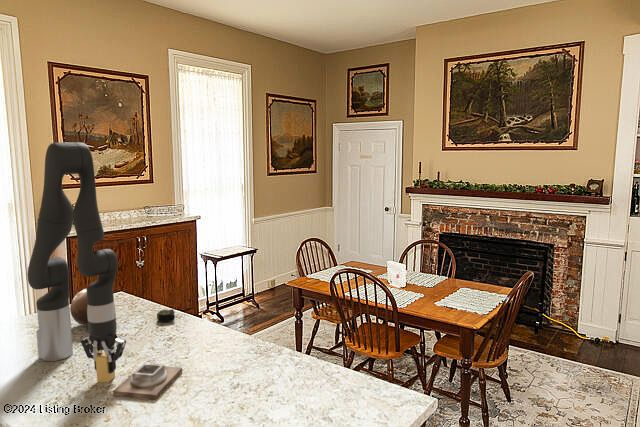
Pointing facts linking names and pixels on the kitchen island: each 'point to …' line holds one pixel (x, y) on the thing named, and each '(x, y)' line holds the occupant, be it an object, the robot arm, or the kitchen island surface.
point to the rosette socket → (148, 381)
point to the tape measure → (166, 315)
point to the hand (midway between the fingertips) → (105, 371)
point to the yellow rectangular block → (103, 368)
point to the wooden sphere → (80, 308)
